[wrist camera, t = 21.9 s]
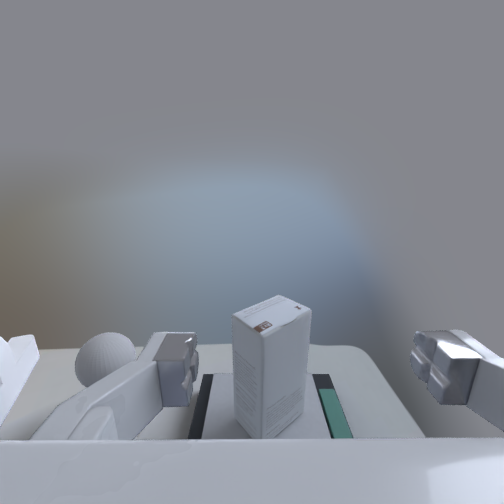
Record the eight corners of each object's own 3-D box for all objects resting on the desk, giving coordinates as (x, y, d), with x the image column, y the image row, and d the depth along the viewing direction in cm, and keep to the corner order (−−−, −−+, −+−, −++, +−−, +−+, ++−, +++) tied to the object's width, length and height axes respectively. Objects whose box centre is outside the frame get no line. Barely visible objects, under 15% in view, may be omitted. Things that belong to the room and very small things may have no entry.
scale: (327, 389, 34) (329, 367, 33) (376, 531, 20) (383, 500, 19) (204, 389, 34) (203, 367, 33) (173, 531, 20) (169, 500, 19)
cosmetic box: (275, 388, 30) (278, 290, 26) (306, 415, 26) (314, 307, 23) (231, 420, 26) (227, 311, 22) (261, 455, 23) (263, 334, 19)
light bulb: (119, 384, 35) (108, 318, 32) (153, 399, 32) (143, 329, 29) (75, 420, 30) (56, 345, 27) (111, 442, 27) (95, 362, 24)
